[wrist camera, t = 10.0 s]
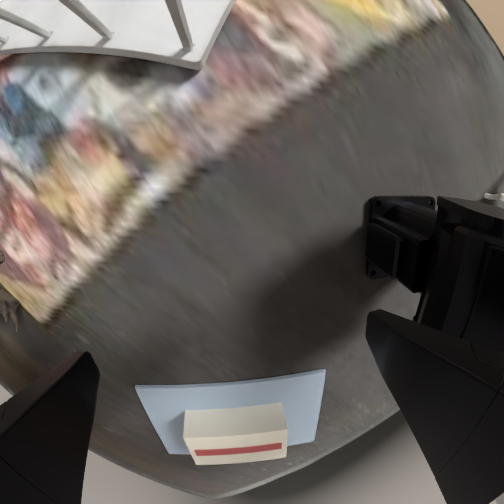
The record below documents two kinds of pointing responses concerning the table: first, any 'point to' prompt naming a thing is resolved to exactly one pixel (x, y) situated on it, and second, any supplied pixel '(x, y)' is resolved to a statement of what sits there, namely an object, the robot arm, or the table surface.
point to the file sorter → (115, 28)
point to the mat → (235, 404)
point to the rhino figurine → (8, 303)
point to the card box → (236, 434)
